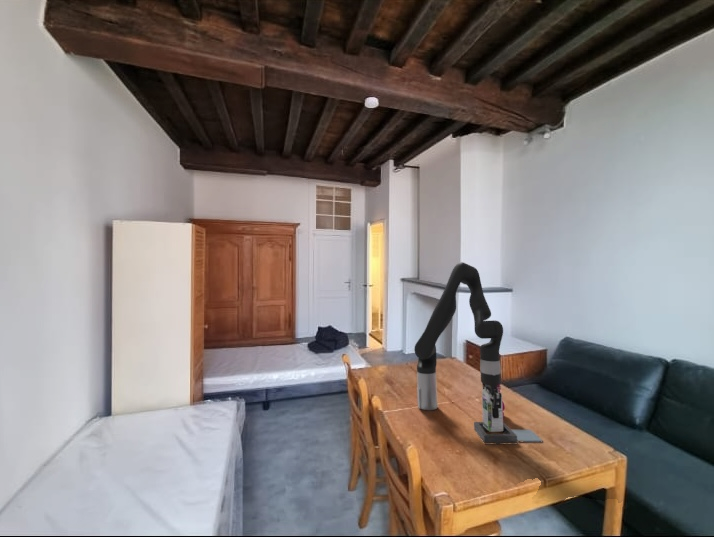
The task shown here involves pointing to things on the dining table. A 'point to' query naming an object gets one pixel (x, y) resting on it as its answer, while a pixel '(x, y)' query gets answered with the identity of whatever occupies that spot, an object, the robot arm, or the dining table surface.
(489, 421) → the syrup box
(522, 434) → the slate mat
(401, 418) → the dining table surface
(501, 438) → the iron collar
